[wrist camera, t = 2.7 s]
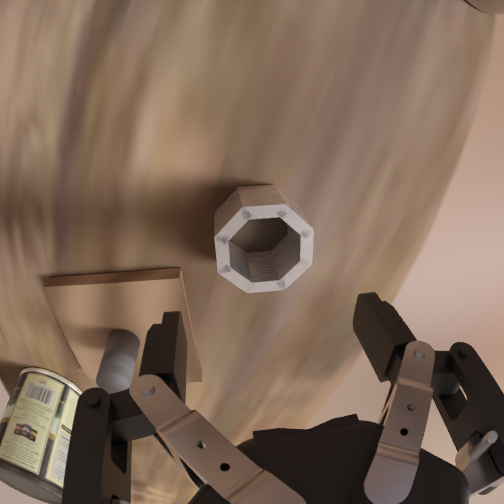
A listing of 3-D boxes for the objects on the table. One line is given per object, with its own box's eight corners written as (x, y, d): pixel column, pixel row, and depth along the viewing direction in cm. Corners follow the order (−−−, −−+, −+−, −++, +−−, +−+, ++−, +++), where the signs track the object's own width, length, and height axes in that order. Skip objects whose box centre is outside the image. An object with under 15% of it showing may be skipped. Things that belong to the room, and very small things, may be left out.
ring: (299, 182, 22) (314, 202, 18) (297, 257, 25) (310, 287, 21) (212, 188, 22) (211, 209, 18) (219, 264, 24) (220, 295, 21)
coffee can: (47, 414, 33) (24, 497, 21) (6, 366, 28) (-33, 455, 16) (105, 417, 34) (88, 513, 21) (65, 365, 29) (29, 476, 16)
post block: (181, 267, 24) (172, 323, 19) (201, 370, 30) (201, 424, 24) (50, 277, 23) (18, 325, 18) (92, 371, 29) (78, 420, 23)
